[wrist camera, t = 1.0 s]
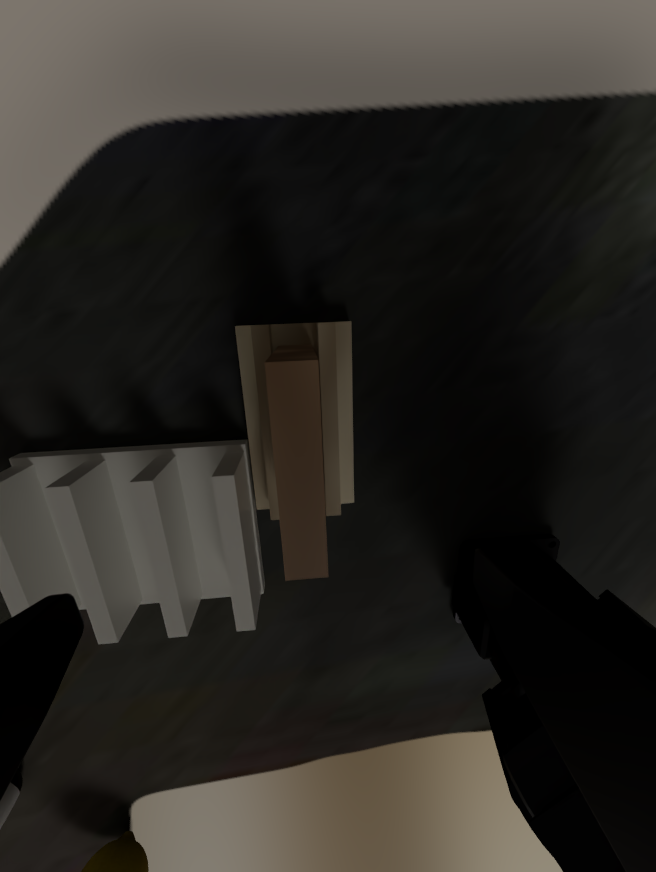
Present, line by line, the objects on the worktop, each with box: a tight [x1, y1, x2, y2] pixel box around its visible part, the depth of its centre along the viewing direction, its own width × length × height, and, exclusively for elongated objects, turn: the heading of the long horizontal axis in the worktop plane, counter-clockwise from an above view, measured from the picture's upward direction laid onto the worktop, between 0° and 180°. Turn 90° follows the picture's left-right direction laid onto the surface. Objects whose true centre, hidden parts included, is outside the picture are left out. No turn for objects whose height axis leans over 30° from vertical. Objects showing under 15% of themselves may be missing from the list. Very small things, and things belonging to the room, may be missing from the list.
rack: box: [0, 439, 265, 644], centre depth 18 cm, size 12×10×4 cm
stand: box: [235, 321, 354, 520], centre depth 18 cm, size 6×10×2 cm, turn 2°
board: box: [264, 344, 328, 581], centre depth 15 cm, size 2×8×7 cm, turn 2°
